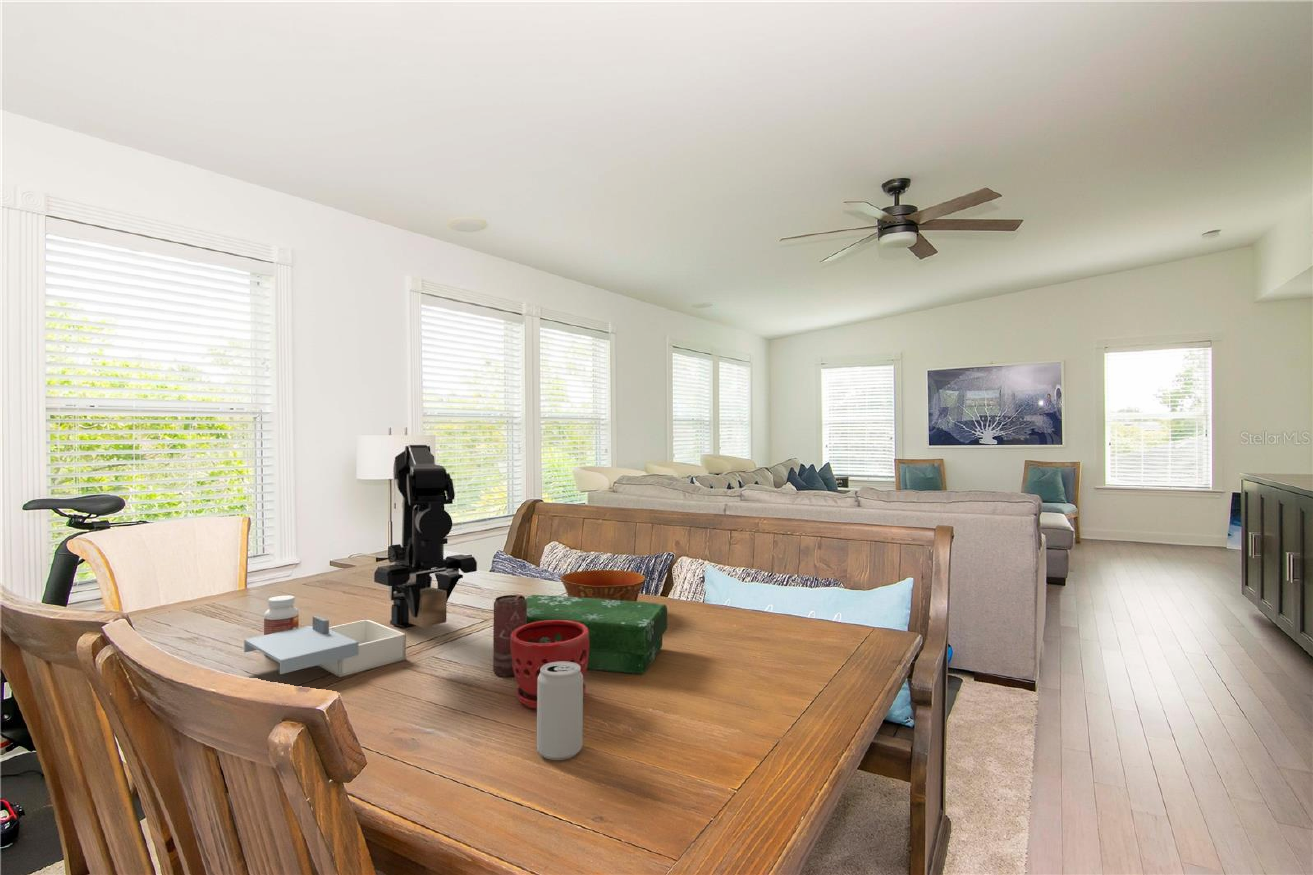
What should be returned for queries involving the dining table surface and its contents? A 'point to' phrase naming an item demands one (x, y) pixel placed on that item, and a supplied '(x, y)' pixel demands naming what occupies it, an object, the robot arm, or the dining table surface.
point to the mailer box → (368, 647)
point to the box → (608, 628)
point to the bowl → (604, 584)
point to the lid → (304, 646)
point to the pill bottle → (281, 615)
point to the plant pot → (545, 652)
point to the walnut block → (430, 608)
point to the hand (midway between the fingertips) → (427, 614)
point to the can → (506, 630)
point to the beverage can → (559, 710)
